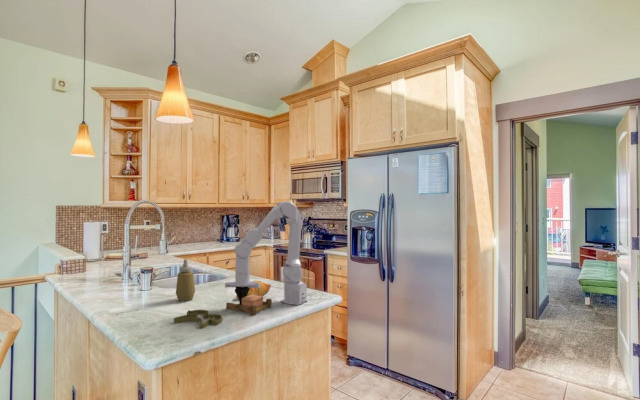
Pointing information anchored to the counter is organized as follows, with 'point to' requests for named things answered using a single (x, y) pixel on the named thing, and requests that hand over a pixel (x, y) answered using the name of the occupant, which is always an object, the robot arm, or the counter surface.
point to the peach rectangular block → (252, 300)
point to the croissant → (260, 291)
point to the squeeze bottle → (185, 283)
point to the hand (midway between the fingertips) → (242, 305)
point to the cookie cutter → (193, 317)
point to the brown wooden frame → (250, 310)
